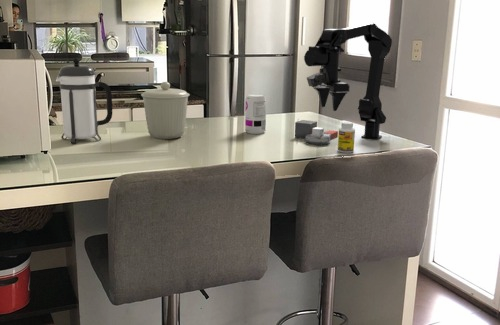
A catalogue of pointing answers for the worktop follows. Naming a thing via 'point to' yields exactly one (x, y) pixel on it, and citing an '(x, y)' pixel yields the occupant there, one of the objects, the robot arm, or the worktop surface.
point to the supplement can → (255, 114)
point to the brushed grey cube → (304, 128)
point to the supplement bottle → (346, 137)
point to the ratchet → (320, 136)
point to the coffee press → (81, 102)
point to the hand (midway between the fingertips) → (328, 108)
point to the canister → (165, 111)
